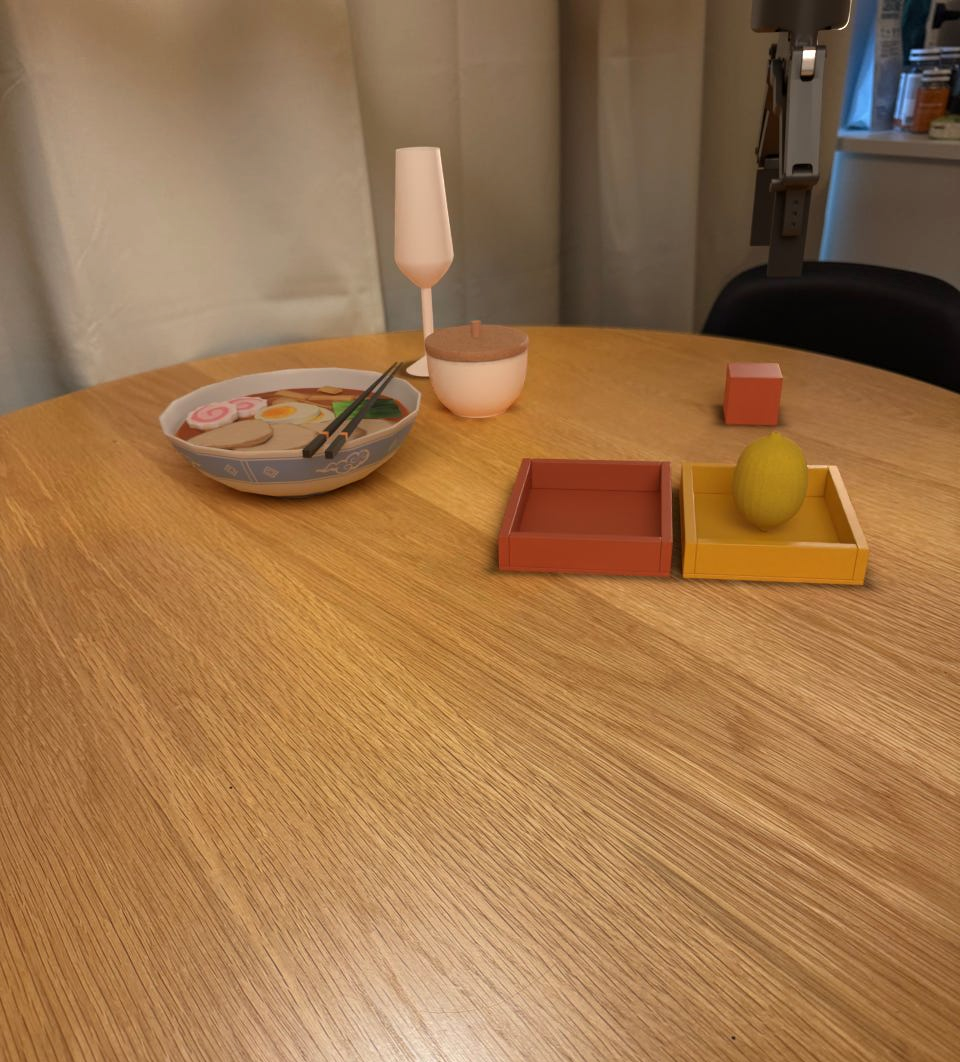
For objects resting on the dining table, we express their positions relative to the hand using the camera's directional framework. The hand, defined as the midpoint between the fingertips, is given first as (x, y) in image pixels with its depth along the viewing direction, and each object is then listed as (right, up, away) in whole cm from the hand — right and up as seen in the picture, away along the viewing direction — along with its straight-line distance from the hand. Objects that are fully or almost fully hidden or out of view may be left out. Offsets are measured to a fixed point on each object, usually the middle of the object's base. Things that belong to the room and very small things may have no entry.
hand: (773, 260), depth 89 cm
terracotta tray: (-17, -25, -8) cm, 31 cm away
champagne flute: (-32, -2, +31) cm, 45 cm away
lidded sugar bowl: (-26, -9, +18) cm, 33 cm away
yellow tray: (-4, -26, -10) cm, 28 cm away
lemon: (-4, -25, -10) cm, 28 cm away
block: (+1, -11, +13) cm, 17 cm away
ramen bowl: (-42, -20, +3) cm, 47 cm away
